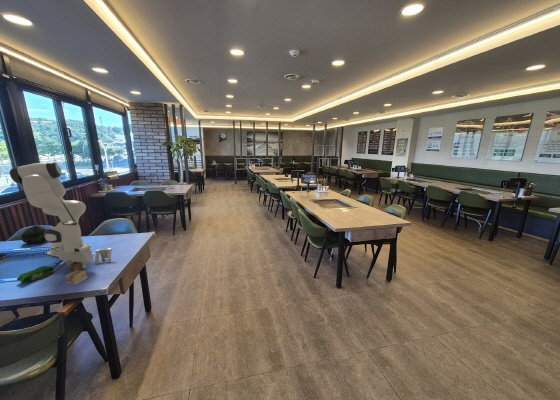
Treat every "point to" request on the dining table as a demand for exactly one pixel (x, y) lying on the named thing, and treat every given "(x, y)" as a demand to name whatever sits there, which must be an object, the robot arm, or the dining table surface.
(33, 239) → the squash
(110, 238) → the dining table surface
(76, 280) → the oak base block
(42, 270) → the snack package
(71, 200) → the robot arm
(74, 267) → the walnut cube
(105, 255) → the portable electronic device stand
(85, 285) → the dining table surface
